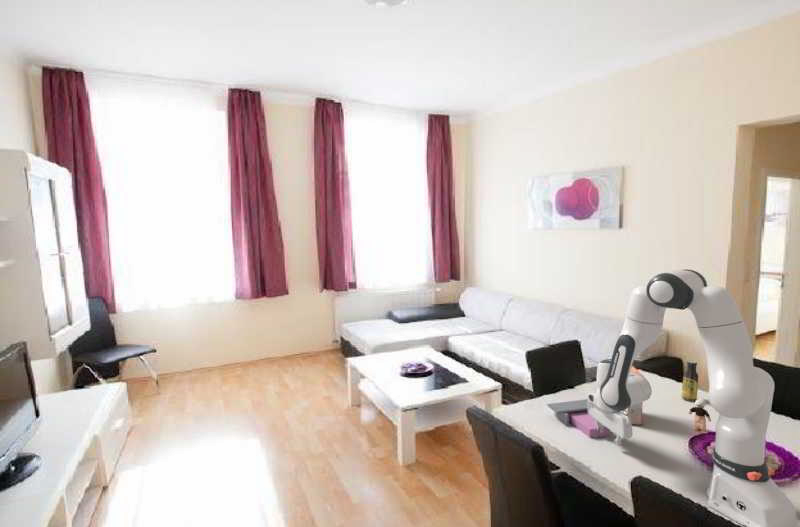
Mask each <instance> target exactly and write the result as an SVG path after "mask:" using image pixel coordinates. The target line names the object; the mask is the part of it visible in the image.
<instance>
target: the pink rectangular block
mask: <svg viewBox="0 0 800 527" xmlns="http://www.w3.org/2000/svg"><path fill="white" fill-rule="evenodd" d="M567 414H569V424H571V425H573V426H574V427H575V428H576V429H577V430H579V431H580V432H581V433H583V434H584V435H585V436H586V435H587V437H588V438H590V437H592V438H599V436H600V437H606V436H611V430H610V429H608V428H607V427H605V426H604V425H603V424H602V427H603V428H604V432H603V433H600V432H598V431H597V425H596V423H595V419H594V418H593V417H591V416H590V415H589V413H588V411H587V410H583V411H575V412H567ZM590 439H591V438H590Z"/></svg>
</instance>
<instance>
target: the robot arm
mask: <svg viewBox="0 0 800 527" xmlns="http://www.w3.org/2000/svg"><path fill="white" fill-rule="evenodd" d="M667 308H668V309H676V310H682V311H683V310H686V309H688V310H689V311H690V312H691V313H692V314H693V317H694V319H695V324H696V327H697V329H698V333H699V335H700V339H701V343H702V346H703V349H704V352H705V356H706V357H705V358H706V368H707V376H708V383H709V384H708V386H709V388H708V394H707V395H708V396H707V398H708V402H709V404H710V406H711V407H712V408H713V409H714V411H715V412H717V413H718V414H719V416H718V419H717V420H716V424H715V442H714V443H715V444H714V446H715V447H713V450H712V451H713V453H712V463H713V469H712V473H711V478H710V482H709V485H708V486H707V489H706V495H707V496H706V497H707V498H708V499H707V506H709V507H711V508H712V509H714V510H715V511H717V512H719V513H721V514H722V515H723V516H726V517H728V518H730V519H731V520H733V521H734V522H736V521H738V522H737V523H738V524H739V523H740V524H739V525H741V526H743V525H746V526H748V527H800V520H799V519H798V516H797V511H796V507H795V505H794V503H793V502H792V501H791V500H790V499H789V497H788V496H787V494H786V493H785V492H784V491H782V490H781V488H780V487H779V486H778V485H777V484H776V483H775V482H774V480H773V479H772V478H771V477H772V476H773V475H775V469H771V470H769V468H768V465H767V462H766V460H765V454H766V452H765V451H766V439H767V431H768V428H769V422H770V417H771V412H772V405H773V398H774V392H775V381H774V379H773V377H772V376H771V375H770V373H768V372H767V371H765V370H764V369H763V368H760V367H758V366H757V367H756V366H754V359H753V357H754V356H753V352H754V349H753V345H752V341H751V338H750V335H749V332H748V329H747V327H746V323H745V321H744V317H743V315H742V313H741V311H740V308H739V306H738V304H737V302H736V300H735V298H734V297H733V295H732V293H731V292H730V290H728V289H727V288H726V287H723V286H718V285H710V286H708V282H707V280H706V278H705V277H704V275H702V274H701V273H700V272H698V271H695V270H693V269H679V270H677V269H675V270H668V271H666V272H662V273H659V274H656V275H655V276H653V277H652V278H651V279H650V280H649V281H648V283H647V284H646V285H639V286H637V287H635V288H634V289H633V290H632V292H631V295H630V296H629V300H628V302H627V306H626V311H625V317H624V322H623V326H622V328H621V332H620V334H619V337H618V339H617V341H616V343H615V346H614V347H613V352H612V356H611V358H610V359H609V358H607V359H603V360H601V361H599V362H598V364H597V368H596V385H597V389H596V390H595V391H596V392H590V393H587V395H586V396H587V399H589V400H588V413H589V415H590V416H591V417H593V418H594V419H595V423H596V425H597V431H598V432H600V433H603V432H604V428H603V427H602V424H603V425H604V426H605V427H607V428H608V429H610V432H613V433H614V434H615V437H616V438H614V439H613V444H615V445H616V446H617V447H618V446H621V445H622V441H623V440H625V439H626V440H628V439H631V438H632V437H633V424H632V422H631V419H630V417H629V416H628V413H627V412H625V411H623V410H625V409H627V408H629V407H630V406H633V405H636V404H638V403H641V402H645V401H648V400H649V399H650V398H651V395H652V386H651V384H650V382H649V380H648V379H647V378H646V377H643V376H644V375H643V376H641V375H638V374H636V373H634V372H632V371H631V367H632V365H633V362H634V361H635V359H636V358H637V357H638V355H640V353H642V352H643V351H644V350H646V349H648V347H650V346H652V345H654V344H655V343H656V342H657V341H658V340H659V337H660V335H661V333H662V330H663V325H664V320H665V319H664V318H665V315H666V314H665V313H666V310H667ZM771 475H772V476H771Z"/></svg>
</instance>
